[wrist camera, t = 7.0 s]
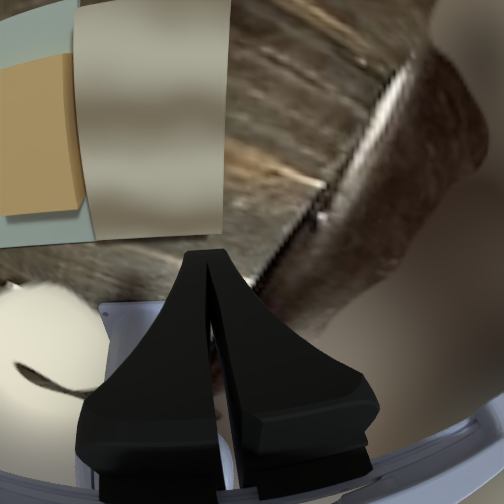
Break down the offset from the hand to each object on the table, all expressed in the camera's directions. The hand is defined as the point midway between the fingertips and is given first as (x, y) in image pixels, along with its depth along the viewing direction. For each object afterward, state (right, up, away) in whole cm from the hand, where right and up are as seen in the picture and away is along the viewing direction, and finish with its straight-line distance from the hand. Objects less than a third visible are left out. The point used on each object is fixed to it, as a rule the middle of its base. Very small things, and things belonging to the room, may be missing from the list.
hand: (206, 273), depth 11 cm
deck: (-4, +8, +6) cm, 11 cm away
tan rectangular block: (-11, +7, +3) cm, 14 cm away
